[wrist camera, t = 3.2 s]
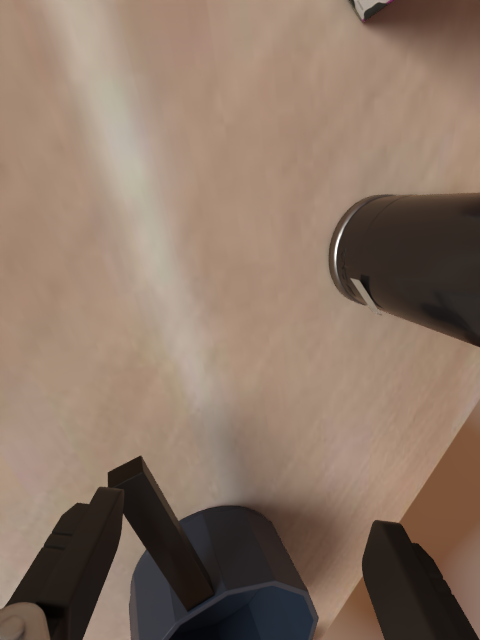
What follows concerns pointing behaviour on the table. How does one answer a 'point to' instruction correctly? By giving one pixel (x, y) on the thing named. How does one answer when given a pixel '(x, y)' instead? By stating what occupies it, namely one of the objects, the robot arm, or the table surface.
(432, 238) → the robot arm
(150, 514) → the pan
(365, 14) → the candy bar box
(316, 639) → the table surface
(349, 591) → the table surface
